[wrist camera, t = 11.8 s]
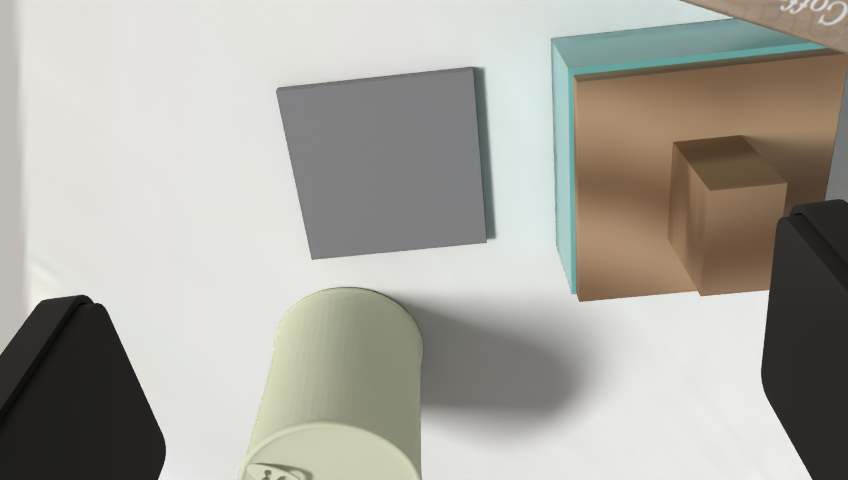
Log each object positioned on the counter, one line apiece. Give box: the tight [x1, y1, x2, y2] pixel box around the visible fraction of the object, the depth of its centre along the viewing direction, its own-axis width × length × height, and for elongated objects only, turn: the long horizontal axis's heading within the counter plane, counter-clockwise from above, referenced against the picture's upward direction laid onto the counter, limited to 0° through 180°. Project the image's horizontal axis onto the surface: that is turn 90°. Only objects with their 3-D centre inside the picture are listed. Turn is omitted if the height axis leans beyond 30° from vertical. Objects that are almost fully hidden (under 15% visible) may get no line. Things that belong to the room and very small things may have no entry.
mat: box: [276, 67, 487, 260], centre depth 41 cm, size 10×10×1 cm
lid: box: [573, 48, 848, 302], centre depth 34 cm, size 12×12×6 cm
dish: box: [551, 18, 826, 294], centre depth 38 cm, size 12×12×5 cm
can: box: [238, 288, 423, 480], centre depth 42 cm, size 9×9×12 cm
